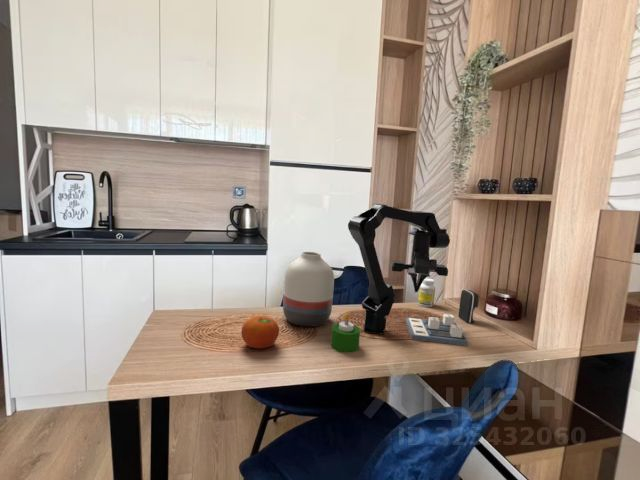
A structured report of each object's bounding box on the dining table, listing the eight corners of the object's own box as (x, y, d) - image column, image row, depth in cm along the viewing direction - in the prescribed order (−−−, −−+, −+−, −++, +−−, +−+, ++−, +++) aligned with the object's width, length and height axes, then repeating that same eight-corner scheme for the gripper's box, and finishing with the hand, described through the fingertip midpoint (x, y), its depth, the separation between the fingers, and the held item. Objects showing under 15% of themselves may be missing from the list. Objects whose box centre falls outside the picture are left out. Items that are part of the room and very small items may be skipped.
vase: (313, 334, 111) (318, 260, 108) (271, 320, 120) (275, 252, 117) (339, 319, 126) (345, 254, 122) (300, 308, 134) (304, 247, 131)
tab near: (451, 336, 113) (453, 327, 112) (449, 333, 116) (450, 323, 115) (461, 337, 113) (462, 328, 112) (458, 334, 115) (460, 324, 115)
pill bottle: (424, 302, 154) (427, 277, 152) (436, 306, 149) (439, 280, 147) (414, 303, 151) (417, 278, 149) (426, 308, 145) (429, 282, 144)
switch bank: (411, 339, 113) (412, 333, 113) (405, 321, 129) (406, 316, 128) (466, 345, 111) (467, 339, 111) (453, 326, 127) (454, 321, 127)
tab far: (444, 325, 123) (445, 316, 122) (442, 321, 126) (443, 313, 125) (453, 326, 122) (454, 317, 122) (451, 322, 125) (452, 314, 125)
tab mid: (429, 328, 118) (430, 319, 118) (427, 325, 121) (428, 316, 121) (438, 329, 118) (439, 320, 118) (436, 326, 121) (437, 317, 121)
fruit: (236, 340, 103) (237, 314, 102) (269, 335, 109) (270, 310, 107) (248, 356, 94) (249, 328, 93) (284, 350, 99) (285, 323, 98)
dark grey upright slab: (477, 323, 131) (481, 294, 130) (467, 323, 131) (471, 293, 129) (466, 316, 138) (470, 288, 137) (457, 316, 138) (461, 288, 136)
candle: (326, 341, 107) (328, 310, 105) (350, 338, 110) (352, 308, 109) (338, 354, 99) (340, 320, 98) (363, 350, 103) (366, 317, 101)
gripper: (395, 249, 115) (390, 295, 117) (454, 254, 113) (448, 301, 115) (392, 244, 126) (388, 286, 128) (446, 249, 124) (441, 292, 126)
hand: (415, 291), depth 124 cm, fingers closed
